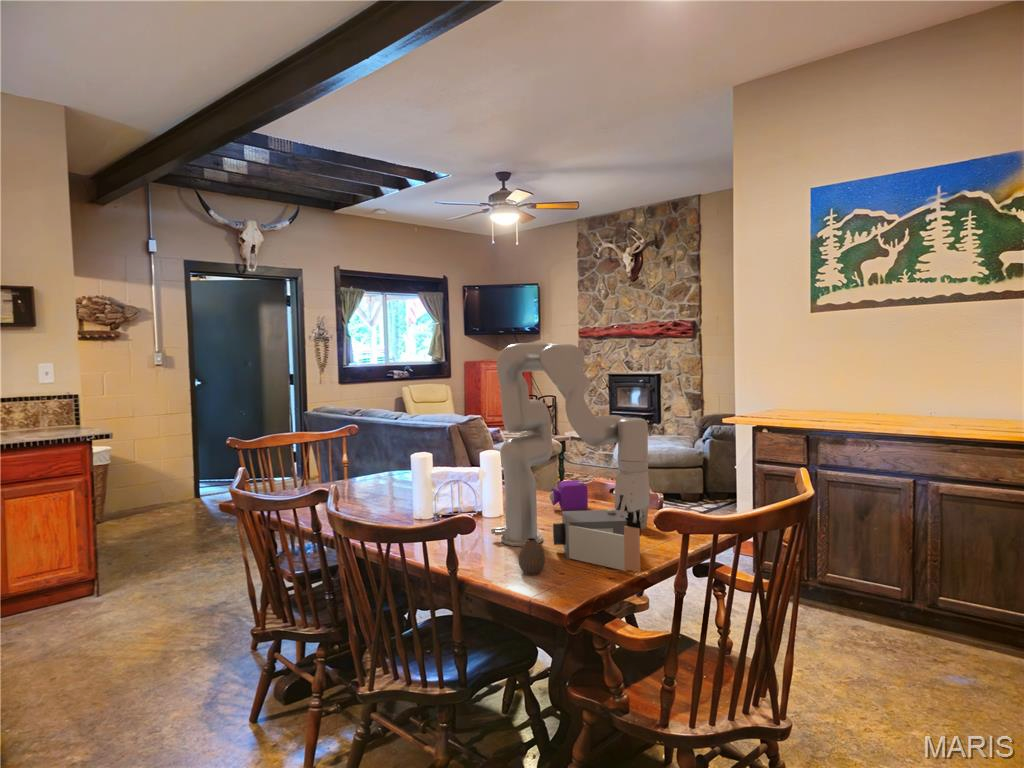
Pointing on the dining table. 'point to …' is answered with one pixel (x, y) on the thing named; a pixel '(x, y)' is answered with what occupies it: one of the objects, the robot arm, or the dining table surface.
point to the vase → (531, 557)
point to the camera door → (604, 547)
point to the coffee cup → (644, 518)
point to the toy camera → (570, 495)
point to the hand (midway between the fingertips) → (633, 536)
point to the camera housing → (589, 523)
